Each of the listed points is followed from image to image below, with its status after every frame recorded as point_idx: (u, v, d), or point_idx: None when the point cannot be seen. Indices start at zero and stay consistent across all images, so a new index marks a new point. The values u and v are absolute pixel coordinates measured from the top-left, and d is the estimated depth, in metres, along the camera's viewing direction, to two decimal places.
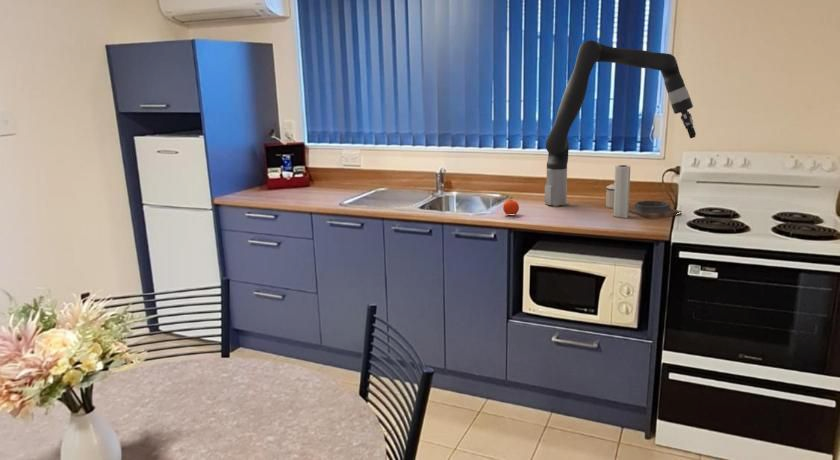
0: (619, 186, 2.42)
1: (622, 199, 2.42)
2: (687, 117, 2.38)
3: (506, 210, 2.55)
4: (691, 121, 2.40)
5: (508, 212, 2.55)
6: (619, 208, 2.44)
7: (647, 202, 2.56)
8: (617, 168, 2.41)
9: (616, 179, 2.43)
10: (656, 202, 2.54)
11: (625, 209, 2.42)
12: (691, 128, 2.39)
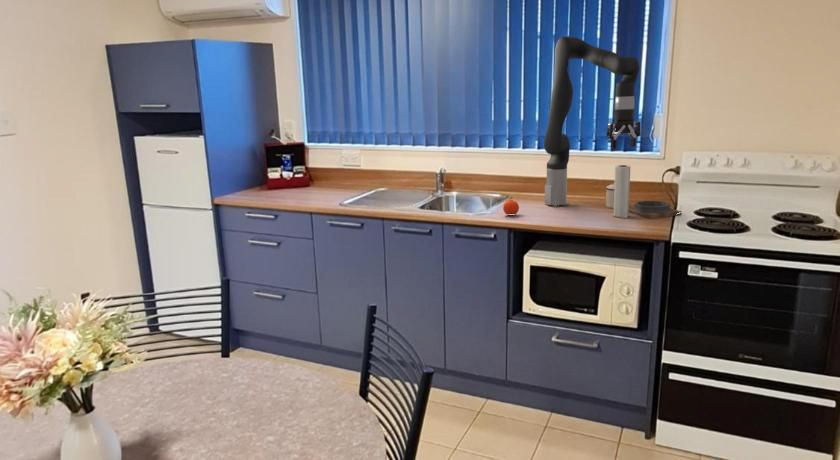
0: (619, 186, 2.42)
1: (622, 199, 2.42)
2: (609, 127, 2.36)
3: (506, 210, 2.55)
4: (617, 133, 2.36)
5: (508, 212, 2.55)
6: (619, 208, 2.44)
7: (647, 202, 2.56)
8: (617, 168, 2.41)
9: (616, 179, 2.43)
10: (656, 202, 2.54)
11: (625, 209, 2.42)
12: (612, 139, 2.37)
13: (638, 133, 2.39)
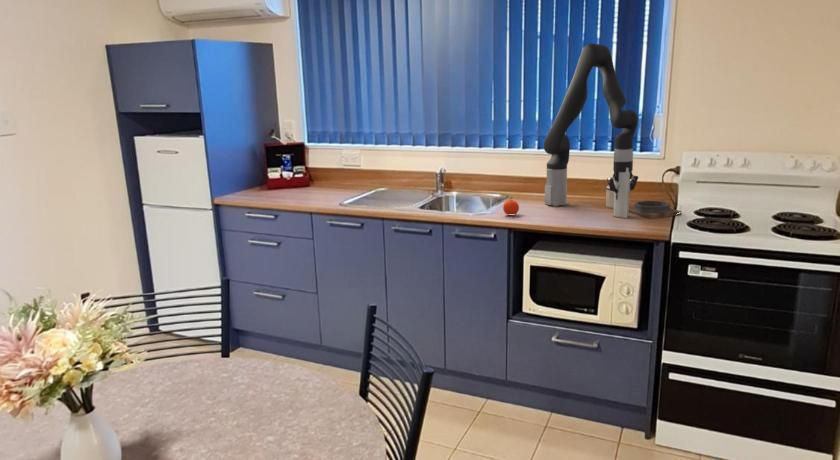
0: None
1: (622, 199, 2.42)
2: (610, 183, 2.41)
3: (506, 210, 2.55)
4: (619, 186, 2.42)
5: (508, 212, 2.55)
6: (619, 208, 2.44)
7: (647, 202, 2.56)
8: None
9: None
10: (656, 202, 2.54)
11: (625, 209, 2.42)
12: None
13: (632, 186, 2.44)
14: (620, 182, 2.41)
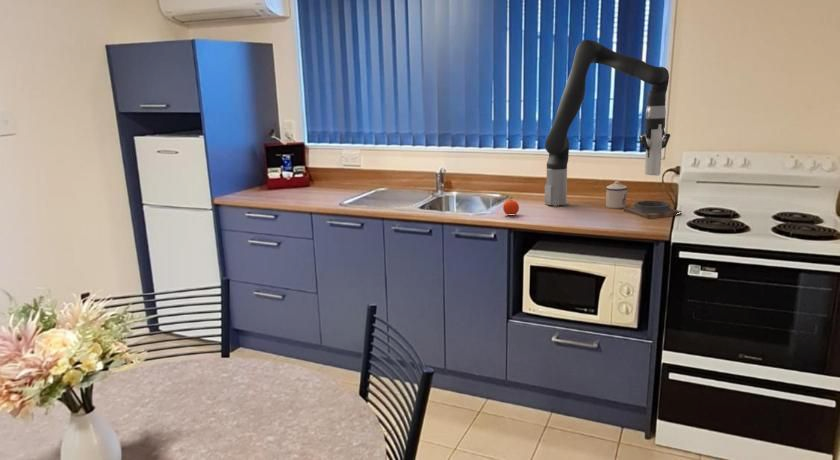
0: (651, 144, 2.41)
1: (654, 157, 2.41)
2: (642, 140, 2.41)
3: (506, 210, 2.55)
4: (651, 143, 2.41)
5: (508, 212, 2.55)
6: (651, 166, 2.43)
7: (647, 202, 2.56)
8: None
9: None
10: (656, 202, 2.54)
11: (657, 167, 2.41)
12: None
13: (664, 144, 2.43)
14: (652, 139, 2.40)
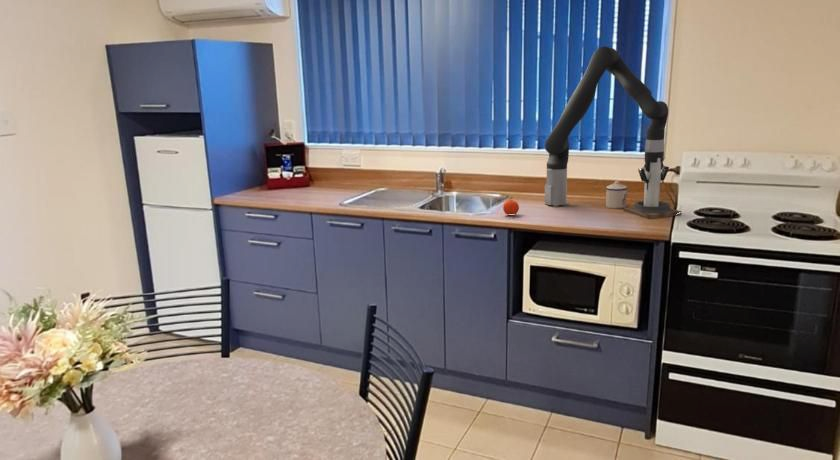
0: (650, 177, 2.45)
1: (653, 189, 2.45)
2: (641, 173, 2.44)
3: (506, 210, 2.55)
4: (650, 176, 2.45)
5: (508, 212, 2.55)
6: (650, 198, 2.47)
7: None
8: None
9: None
10: None
11: (656, 199, 2.45)
12: None
13: (663, 177, 2.47)
14: (651, 172, 2.44)
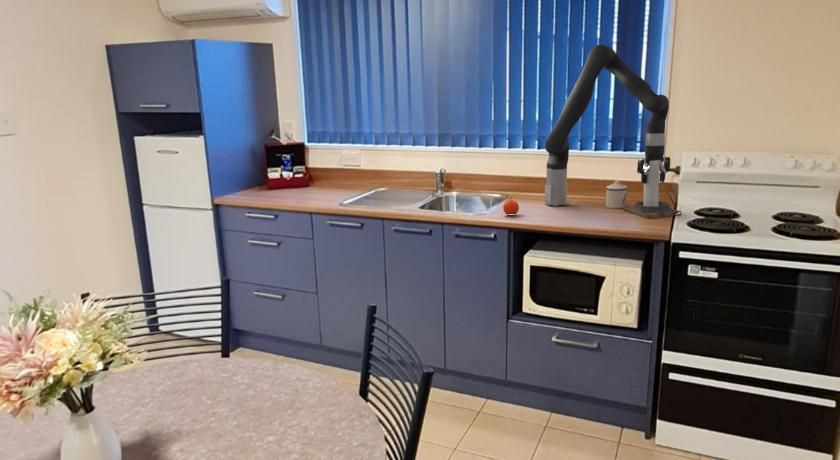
0: (649, 180, 2.45)
1: (652, 192, 2.45)
2: (640, 163, 2.43)
3: (506, 210, 2.55)
4: (647, 168, 2.43)
5: (508, 212, 2.55)
6: (649, 201, 2.47)
7: None
8: (646, 162, 2.44)
9: None
10: None
11: (655, 202, 2.45)
12: (643, 174, 2.44)
13: (668, 168, 2.46)
14: (650, 175, 2.44)
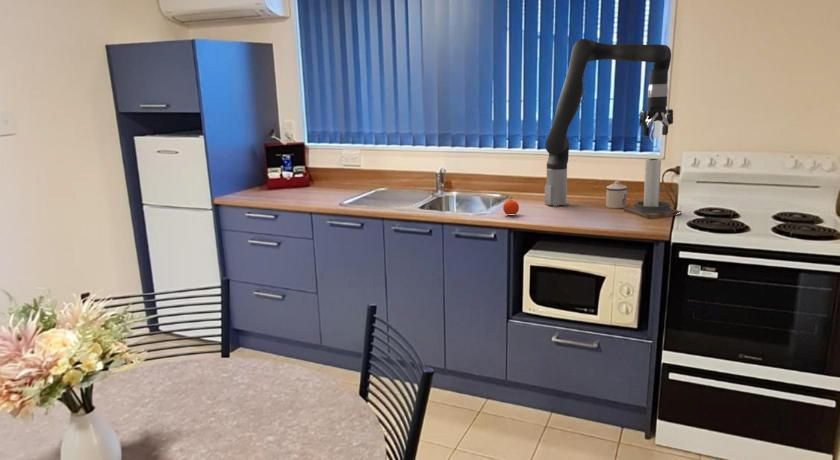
0: (650, 180, 2.45)
1: (653, 192, 2.45)
2: (643, 115, 2.38)
3: (506, 210, 2.55)
4: (650, 120, 2.39)
5: (508, 212, 2.55)
6: (649, 201, 2.47)
7: None
8: (648, 162, 2.44)
9: (647, 172, 2.46)
10: None
11: (656, 202, 2.45)
12: (645, 127, 2.40)
13: (670, 121, 2.42)
14: (651, 175, 2.44)
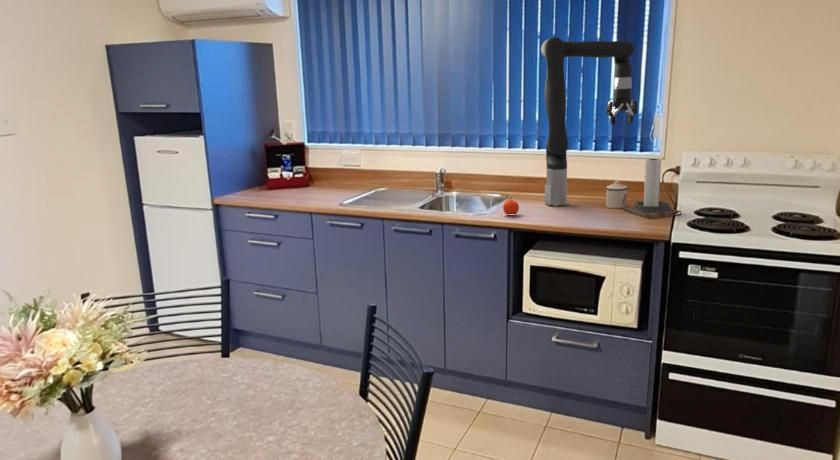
0: (650, 180, 2.45)
1: (653, 192, 2.45)
2: (609, 105, 2.62)
3: (506, 210, 2.55)
4: (616, 110, 2.63)
5: (508, 212, 2.55)
6: (649, 201, 2.47)
7: None
8: (648, 162, 2.44)
9: (647, 172, 2.46)
10: None
11: (656, 202, 2.45)
12: (611, 116, 2.64)
13: (635, 111, 2.66)
14: (651, 175, 2.44)
